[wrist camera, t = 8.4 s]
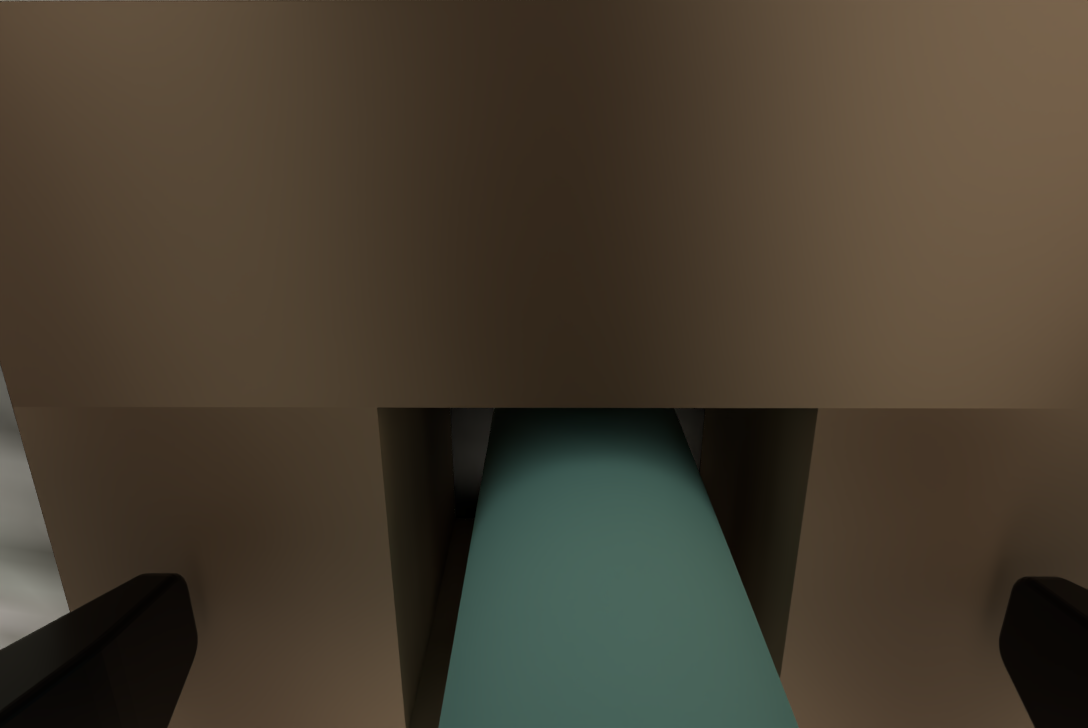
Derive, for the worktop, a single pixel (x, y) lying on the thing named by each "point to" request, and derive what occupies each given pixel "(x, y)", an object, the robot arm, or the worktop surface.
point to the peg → (603, 585)
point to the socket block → (551, 315)
